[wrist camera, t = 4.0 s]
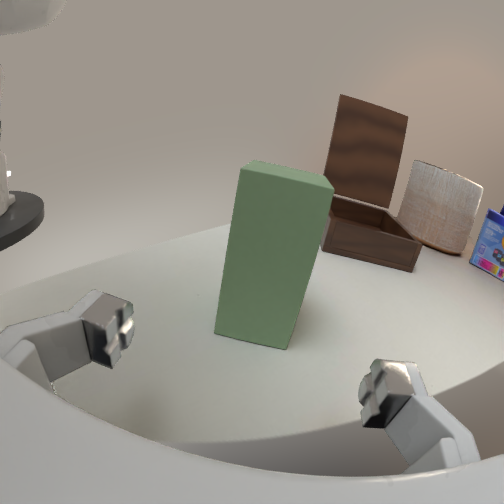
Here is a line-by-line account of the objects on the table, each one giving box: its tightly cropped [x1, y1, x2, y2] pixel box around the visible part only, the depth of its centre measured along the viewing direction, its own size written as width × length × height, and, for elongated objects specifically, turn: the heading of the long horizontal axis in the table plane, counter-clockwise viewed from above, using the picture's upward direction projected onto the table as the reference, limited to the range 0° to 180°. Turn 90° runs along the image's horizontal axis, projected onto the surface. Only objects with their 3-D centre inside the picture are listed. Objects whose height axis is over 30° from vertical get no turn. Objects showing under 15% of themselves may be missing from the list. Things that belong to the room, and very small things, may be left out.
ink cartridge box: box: [470, 206, 504, 281], centre depth 43 cm, size 10×6×14 cm, turn 45°
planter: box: [397, 160, 483, 254], centre depth 53 cm, size 18×18×16 cm
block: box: [214, 160, 334, 349], centre depth 19 cm, size 5×5×11 cm
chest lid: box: [323, 94, 408, 208], centre depth 49 cm, size 18×14×4 cm
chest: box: [320, 196, 422, 273], centre depth 43 cm, size 18×14×4 cm
